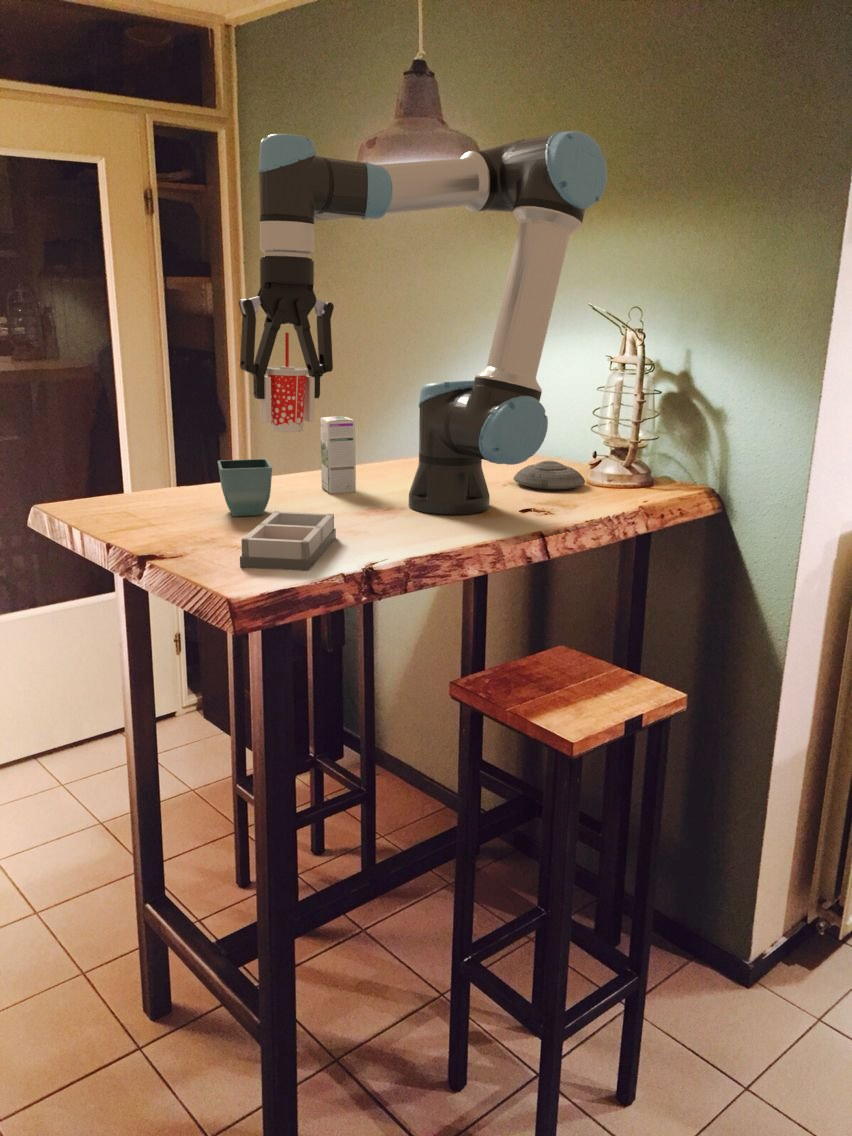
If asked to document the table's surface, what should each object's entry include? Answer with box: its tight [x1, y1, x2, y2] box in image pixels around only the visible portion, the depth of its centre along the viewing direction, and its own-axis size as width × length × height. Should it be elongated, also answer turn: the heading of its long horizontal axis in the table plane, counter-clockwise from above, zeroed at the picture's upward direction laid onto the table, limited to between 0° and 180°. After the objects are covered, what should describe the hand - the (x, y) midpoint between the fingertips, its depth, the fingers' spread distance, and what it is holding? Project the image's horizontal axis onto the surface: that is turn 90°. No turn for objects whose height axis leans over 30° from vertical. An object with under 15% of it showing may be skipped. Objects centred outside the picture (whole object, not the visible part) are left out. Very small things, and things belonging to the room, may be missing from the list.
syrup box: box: [319, 415, 357, 495], centre depth 184 cm, size 6×6×14 cm
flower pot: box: [217, 458, 273, 517], centre depth 164 cm, size 9×9×9 cm
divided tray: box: [239, 510, 337, 571], centre depth 141 cm, size 10×19×4 cm, turn 174°
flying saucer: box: [513, 460, 586, 490], centre depth 196 cm, size 15×15×6 cm
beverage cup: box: [265, 332, 309, 433], centre depth 136 cm, size 6×6×14 cm
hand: (287, 421), depth 137 cm, fingers closed on beverage cup, 6 cm apart
